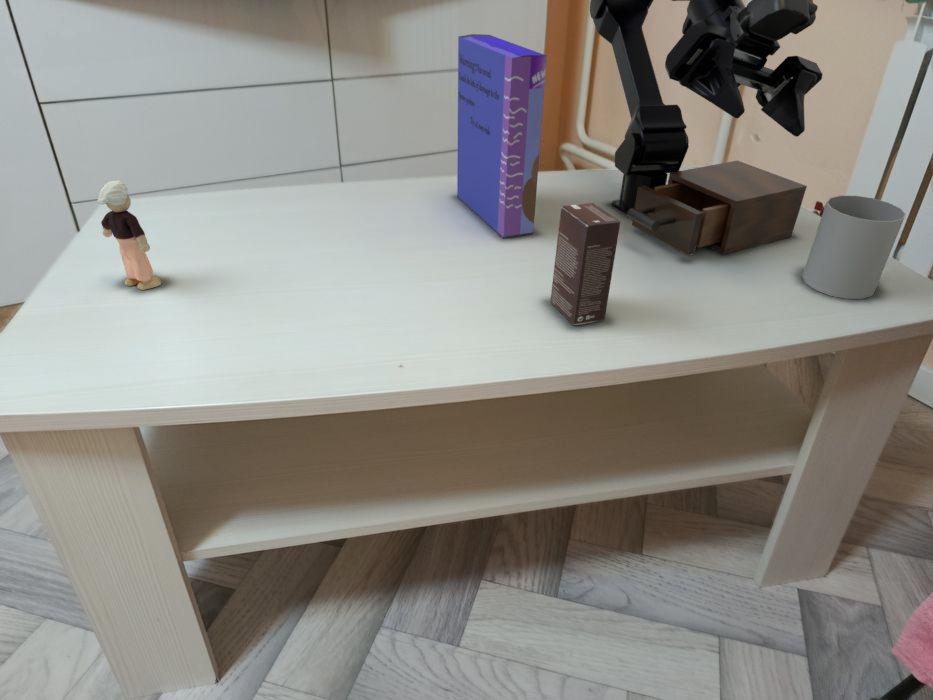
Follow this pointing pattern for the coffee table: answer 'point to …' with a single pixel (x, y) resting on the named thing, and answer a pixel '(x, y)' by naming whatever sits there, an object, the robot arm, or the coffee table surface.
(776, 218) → the cabinet
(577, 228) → the box
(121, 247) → the grandmother figurine
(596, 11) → the robot arm
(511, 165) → the cereal box
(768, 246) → the coffee table surface
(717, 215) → the drawer
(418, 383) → the coffee table surface
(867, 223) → the cup
